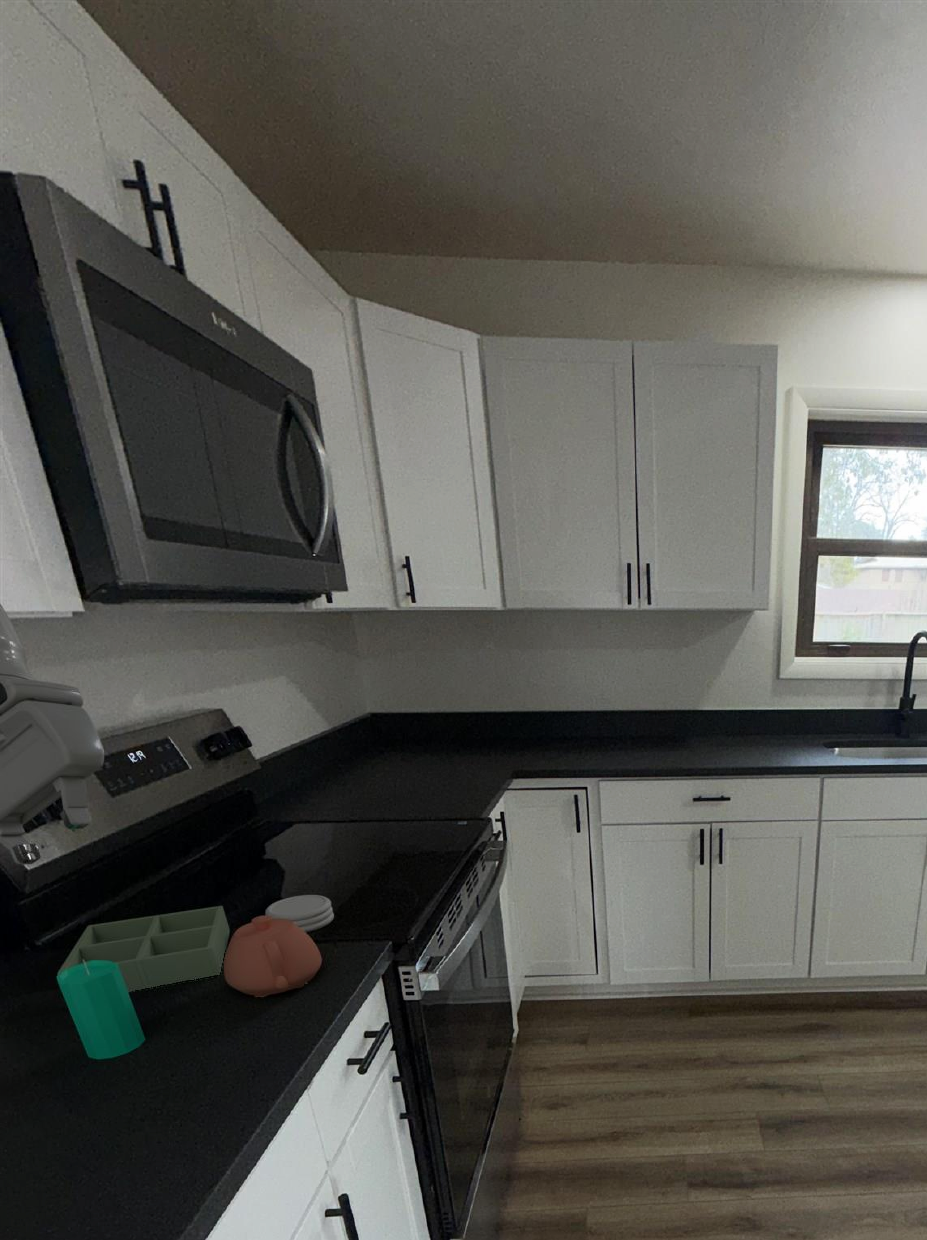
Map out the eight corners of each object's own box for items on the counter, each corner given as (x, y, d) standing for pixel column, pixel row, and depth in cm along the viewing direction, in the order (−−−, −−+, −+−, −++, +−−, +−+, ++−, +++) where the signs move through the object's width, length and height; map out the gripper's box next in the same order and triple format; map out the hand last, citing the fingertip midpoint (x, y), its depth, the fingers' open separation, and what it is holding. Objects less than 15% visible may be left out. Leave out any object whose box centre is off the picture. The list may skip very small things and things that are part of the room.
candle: (92, 1040, 94) (57, 954, 89) (148, 1028, 97) (118, 944, 92) (81, 1064, 89) (44, 975, 84) (142, 1051, 92) (109, 964, 87)
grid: (69, 1003, 103) (57, 973, 101) (97, 952, 117) (87, 925, 116) (220, 975, 110) (212, 947, 108) (229, 931, 125) (222, 905, 123)
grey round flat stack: (255, 931, 124) (250, 912, 123) (300, 909, 133) (296, 891, 132) (304, 938, 122) (299, 919, 120) (347, 915, 130) (343, 897, 129)
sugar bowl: (316, 956, 116) (301, 895, 111) (335, 992, 105) (320, 926, 101) (225, 978, 109) (206, 913, 105) (236, 1018, 99) (215, 949, 94)
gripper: (-89, 763, 78) (-35, 884, 79) (16, 670, 71) (75, 804, 71) (-16, 766, 84) (34, 879, 85) (88, 681, 77) (142, 805, 77)
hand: (54, 844), depth 78 cm, fingers open, 8 cm apart
